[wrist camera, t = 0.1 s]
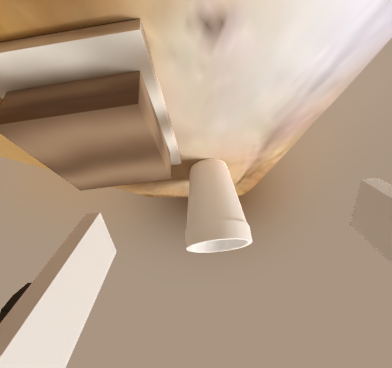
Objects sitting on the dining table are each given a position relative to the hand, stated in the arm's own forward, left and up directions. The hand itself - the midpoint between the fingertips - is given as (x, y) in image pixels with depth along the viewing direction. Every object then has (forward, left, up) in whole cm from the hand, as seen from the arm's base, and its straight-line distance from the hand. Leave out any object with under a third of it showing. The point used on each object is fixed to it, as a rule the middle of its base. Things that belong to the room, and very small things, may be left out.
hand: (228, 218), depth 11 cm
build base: (+6, -11, -15) cm, 20 cm away
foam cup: (+20, 0, -16) cm, 25 cm away
